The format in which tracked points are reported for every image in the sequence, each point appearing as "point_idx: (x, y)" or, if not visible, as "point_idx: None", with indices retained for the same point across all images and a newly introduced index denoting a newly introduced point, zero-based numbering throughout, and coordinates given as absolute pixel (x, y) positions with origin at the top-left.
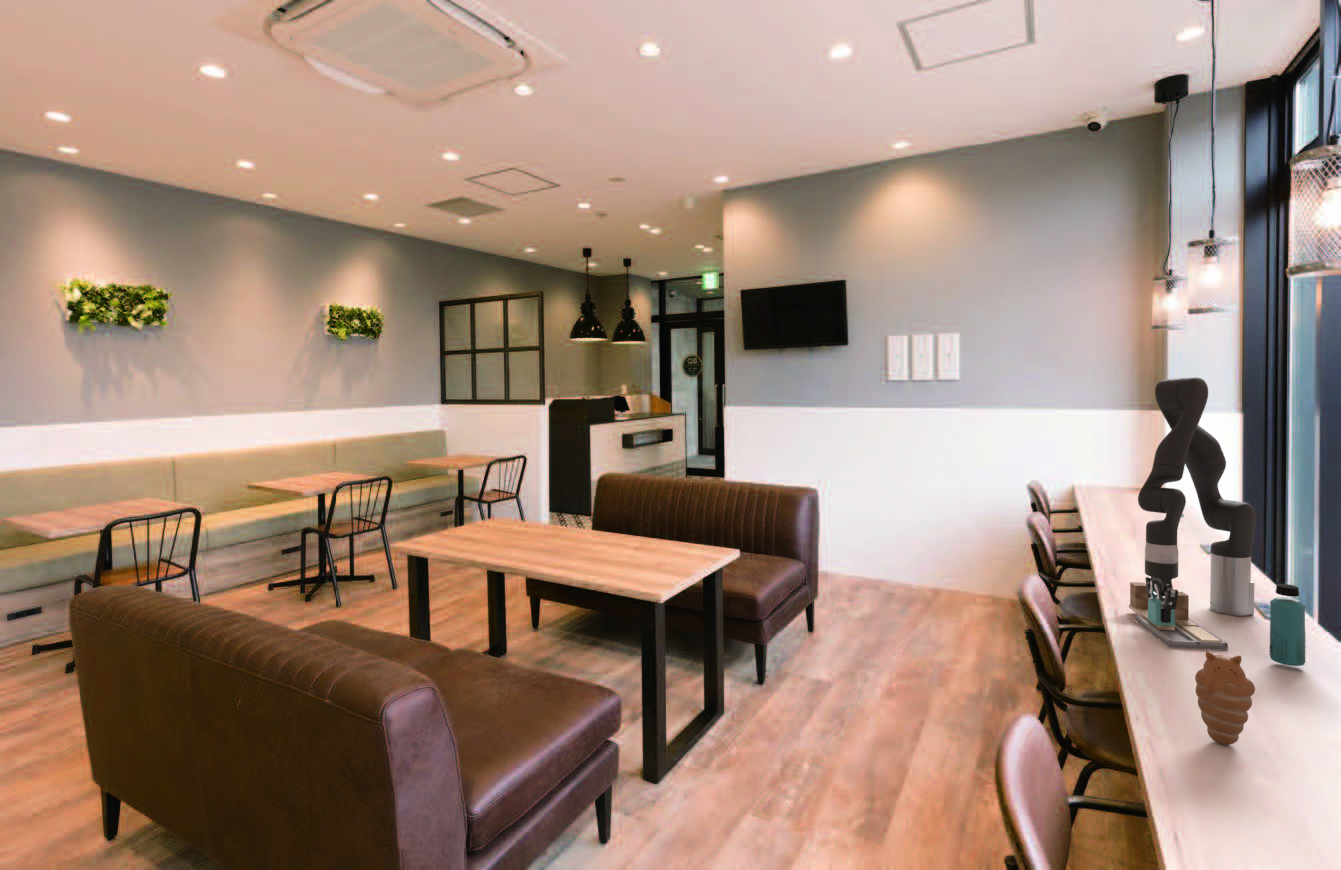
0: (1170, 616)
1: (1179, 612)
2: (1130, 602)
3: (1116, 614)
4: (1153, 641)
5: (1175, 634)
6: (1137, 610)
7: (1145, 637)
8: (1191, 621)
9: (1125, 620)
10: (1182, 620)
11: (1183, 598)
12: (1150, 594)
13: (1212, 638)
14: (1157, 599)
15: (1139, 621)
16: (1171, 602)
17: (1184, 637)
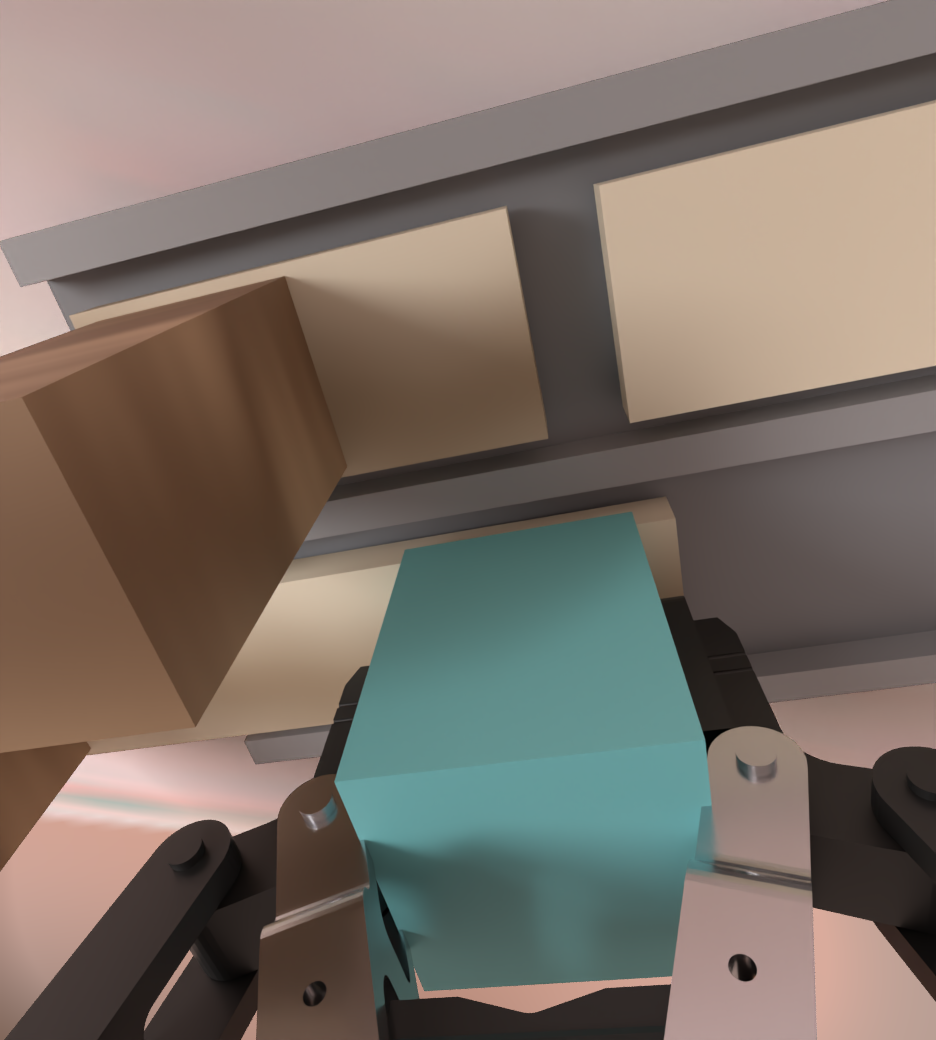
0: (705, 649)
1: (291, 437)
2: None
3: (160, 802)
4: (906, 692)
5: (787, 509)
6: (145, 742)
7: (791, 727)
8: (248, 221)
9: (312, 774)
10: (337, 363)
11: (141, 491)
12: (256, 986)
13: None
14: (419, 901)
15: None
16: (809, 859)
17: (895, 438)
